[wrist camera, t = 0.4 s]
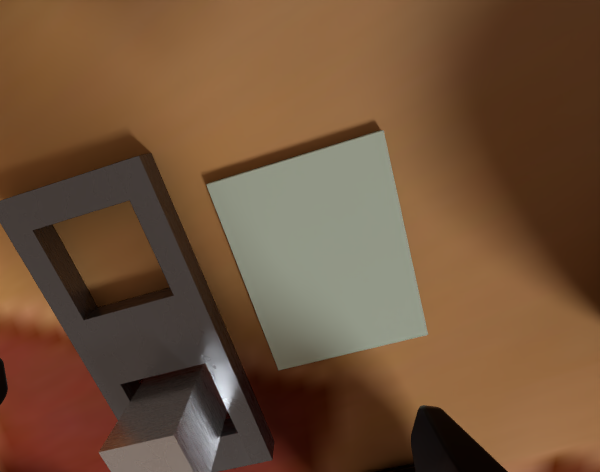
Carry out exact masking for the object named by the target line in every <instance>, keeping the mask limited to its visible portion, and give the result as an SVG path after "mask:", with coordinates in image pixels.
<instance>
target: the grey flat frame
mask: <svg viewBox="0 0 600 472" xmlns="http://www.w3.org/2000/svg"><path fill="white" fill-rule="evenodd" d="M129 200H130V202H131V204H132V207H133V209H134V211H135V213H136V215H137V217H138V219H139V222H140V224H141V226H142V228H143V230H144V232H145V235H146V237H147V239H148V241H149V243H150V245H151V247H152V250H153V252H154V254H155V256H156V258H157V260H158V262H159V265H160V267H161V269H162V271H163V273H164V275H165V277H166V280H167V282H168V284H169V286H170V288H167V289H163V290H160V291H156V292H152V293H149V294H145V295H142V296H138V297H134V298H131V299H127V300H123V301H120V302H116V303H113V304H109V305H105V306H102V307H97V306H96V304H95V302H94V300H93V298H92V296H91V295H90V293H89V291H88V289H87V287H86V286H85V284H84V282H83V280H82V278H81V276H80V275H79V273H78V271H77V269H76V267H75V265H74V264H73V262H72V260H71V258H70V256H69V255H68V253H67V251H66V249H65V247H64V245H63V244H62V242H61V240H60V238H59V236H58V235H57V233H56V231H55V229H54V227H53V225H52V224H55V223H58V222H61V221H64V220H67V219H71V218H74V217H77V216H80V215H84V214H87V213H90V212H93V211H96V210H100V209H103V208H106V207H109V206H113V205H116V204H119V203H122V202H125V201H129ZM0 223H1V225H2V227H3V228H4V230H5V232H6V233H7V235H8V237H9V238H10V240H11V242H12V243H13V245H14V247H15V248H16V250H17V252H18V253H19V255H20V257H21V258H22V260H23V262H24V263H25V265H26V267H27V268H28V270H29V272H30V274H31V275H32V277H33V279H34V280H35V282H36V284H37V285H38V287H39V289H40V290H41V292H42V294H43V295H44V297H45V299H46V300H47V302H48V304H49V305H50V307H51V309H52V310H53V312H54V314H55V315H56V317H57V319H58V320H59V322H60V324H61V325H62V327H63V329H64V330H65V332H66V334H67V336H68V337H69V339H70V341H71V342H72V344H73V346H74V347H75V349H76V351H77V352H78V354H79V356H80V357H81V359H82V361H83V362H84V364H85V366H86V367H87V369H88V371H89V372H90V374H91V376H92V377H93V379H94V381H95V382H96V384H97V386H98V387H99V389H100V391H101V392H102V394H103V396H104V398H105V399H106V401H107V403H108V404H109V406H110V408H111V409H112V411H113V413H114V414H115V416H116V418H117V419H118V420H119V419H120V417H121V415H122V414H123V412H124V411H125V409H126V407H127V406H128V404H129V403H130V401H131V399H132V398H133V396H134V395H135V393H136V391H137V390H138V388H139V386H140V384H139V382H138V380H140V379H144V378H148V377H152V376H156V375H160V374H164V373H168V372H172V371H176V370H180V369H184V368H188V367H192V366H196V365H200V364H204V363H206V366H207V368H208V370H209V372H210V374H211V376H212V378H213V381H214V383H215V385H216V387H217V389H218V391H219V393H220V396H221V398H222V400H223V402H224V404H225V406H226V409H227V411H228V413H229V415H230V417H231V418H228V419H225V421H224V425H223V429H222V432H221V436H220V440H219V443H218V447H217V451H216V455H215V458H214V462H213V466H212V469H211V472H218V471H223V470H227V469H232V468H237V467H242V466H246V465H251V464H256V463H261V462H265V461H270V460H272V459H273V449H274V440H273V437H272V435H271V433H270V430H269V428H268V426H267V423H266V421H265V418H264V416H263V414H262V411H261V409H260V407H259V404H258V402H257V400H256V397H255V395H254V393H253V390H252V388H251V386H250V383H249V381H248V379H247V376H246V374H245V372H244V369H243V367H242V365H241V362H240V360H239V358H238V355H237V353H236V351H235V348H234V346H233V344H232V341H231V339H230V337H229V334H228V332H227V330H226V327H225V325H224V322H223V320H222V318H221V315H220V313H219V311H218V308H217V306H216V304H215V301H214V299H213V297H212V294H211V292H210V290H209V287H208V285H207V283H206V280H205V278H204V276H203V273H202V271H201V269H200V266H199V264H198V262H197V259H196V257H195V255H194V252H193V250H192V248H191V245H190V243H189V241H188V238H187V236H186V234H185V231H184V229H183V227H182V224H181V222H180V219H179V217H178V215H177V212H176V210H175V208H174V205H173V203H172V201H171V198H170V196H169V194H168V191H167V189H166V187H165V184H164V182H163V180H162V177H161V175H160V173H159V170H158V168H157V166H156V163H155V161H154V159H153V156H152V154H151V153H149V154H144V155H140V156H137V157H133V158H130V159H127V160H124V161H121V162H118V163H115V164H112V165H109V166H106V167H103V168H100V169H97V170H93V171H90V172H87V173H84V174H81V175H78V176H75V177H72V178H69V179H66V180H63V181H60V182H57V183H53V184H50V185H47V186H44V187H41V188H38V189H35V190H32V191H29V192H26V193H23V194H20V195H16V196H13V197H10V198H7V199H4V200H1V201H0Z"/></svg>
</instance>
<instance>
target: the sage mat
mask: <svg viewBox="0 0 600 472" xmlns="http://www.w3.org/2000/svg"><path fill="white" fill-rule="evenodd" d="M207 188H208V190H209V193H210V195H211V198H212V201H213V203H214V206H215V208H216V211H217V213H218V216H219V219H220V221H221V224H222V226H223V229H224V231H225V234H226V237H227V239H228V242H229V244H230V247H231V249H232V252H233V255H234V257H235V260H236V262H237V265H238V267H239V270H240V273H241V275H242V278H243V280H244V283H245V285H246V288H247V290H248V293H249V296H250V298H251V301H252V303H253V306H254V308H255V311H256V314H257V316H258V319H259V321H260V324H261V326H262V329H263V332H264V334H265V337H266V339H267V342H268V344H269V347H270V350H271V352H272V355H273V357H274V360H275V362H276V365H277V368H278V370H283V369H287V368H291V367H295V366H299V365H303V364H308V363H312V362H316V361H320V360H324V359H329V358H333V357H337V356H341V355H345V354H350V353H354V352H358V351H362V350H366V349H370V348H375V347H379V346H383V345H387V344H391V343H396V342H400V341H404V340H408V339H412V338H416V337H421V336H425V335H428V332H427V328H426V323H425V319H424V314H423V309H422V305H421V300H420V296H419V291H418V286H417V282H416V277H415V273H414V268H413V264H412V259H411V254H410V250H409V245H408V241H407V236H406V231H405V227H404V222H403V218H402V213H401V208H400V204H399V199H398V195H397V190H396V186H395V181H394V176H393V172H392V167H391V163H390V158H389V153H388V149H387V144H386V140H385V135H384V131H383V130H380V131H376V132H373V133H370V134H367V135H363V136H360V137H357V138H354V139H350V140H347V141H344V142H341V143H337V144H334V145H331V146H328V147H324V148H321V149H318V150H315V151H311V152H308V153H305V154H302V155H298V156H295V157H292V158H289V159H285V160H282V161H279V162H276V163H272V164H269V165H266V166H263V167H259V168H256V169H253V170H250V171H247V172H243V173H240V174H237V175H234V176H230V177H227V178H224V179H221V180H217V181H214V182H211V183H208V184H207Z"/></svg>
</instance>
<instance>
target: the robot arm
mask: <svg viewBox="0 0 600 472" xmlns="http://www.w3.org/2000/svg"><path fill="white" fill-rule="evenodd" d="M7 390H8V386H7V380H6V374H5V369H4V363H3V361H2V359H1V358H0V404H1V403H2V402H3V400H4V399H5V397H6V394H7ZM411 448H412V454H413V459H414V464H411V465H406V466H401V467H396V468H391V469H386V470H381V471H376V472H508V471H506V470H505V469H504V468H503V467H502V466H501V465H500V464H499V463H498V462H497V461H496V460H495V459H494V458H493V457H492V456H491V455H490V454H489V453H487V452H486V451H485V450H484V449H483V448H482V447H481V446H480V445H479V444H478V443H477V442H476V441H475V440H474V439H473V438H472V437H471V436H470V435H469V434H467V433H466V432H465V431H464V430H463V429H462V428H461V427H460V426H459V425H458V424H457V423H456V422H455V421H454V420H453V419H452V418H451V417H450V416H449V415H447V414H446V413H445V412H444V411H443V410H442V409H441V408H439V407H433V406H425V405H423V406H420V408H419V409H418V412H417V415H416V419H415V423H414V426H413V430H412V434H411Z"/></svg>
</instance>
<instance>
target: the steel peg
mask: <svg viewBox="0 0 600 472" xmlns="http://www.w3.org/2000/svg"><path fill="white" fill-rule="evenodd" d="M226 414H227V409H226V406H225V404H224V402H223V400H222V398H221V396H220V393H219V391H218V389H217V387H216V385H215V383H214V381H213V378H212V376H211V374H210V372H209V370H208V368H207V366H206V363H204V364H200V365H196V366H192V367H188V368H184V369H180V370H176V371H172V372H168V373H164V374H160V375H156V376H152V377H148V378H144V380H143V382H142V383H141V385H140V386H139V388H138V390H137V391H136V393H135V395H134V396H133V398H132V399H131V401H130V403H129V404H128V406H127V407H126V409H125V411H124V412H123V414H122V415H121V417H120V419H119V420H118V422H117V424H116V425H115V427H114V428H113V430H112V432H111V433H110V435H109V436H108V438H107V440H106V441H105V443H104V444H103V446H102V448H101V449H100V451H99V454H100V455H101V457H102V458H103V460H104V461H105V463H106V465H107V466H108V468H109V469H110V471H111V472H211V469H212V466H213V462H214V458H215V455H216V451H217V447H218V443H219V440H220V436H221V432H222V429H223V425H224V421H225V417H226Z"/></svg>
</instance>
